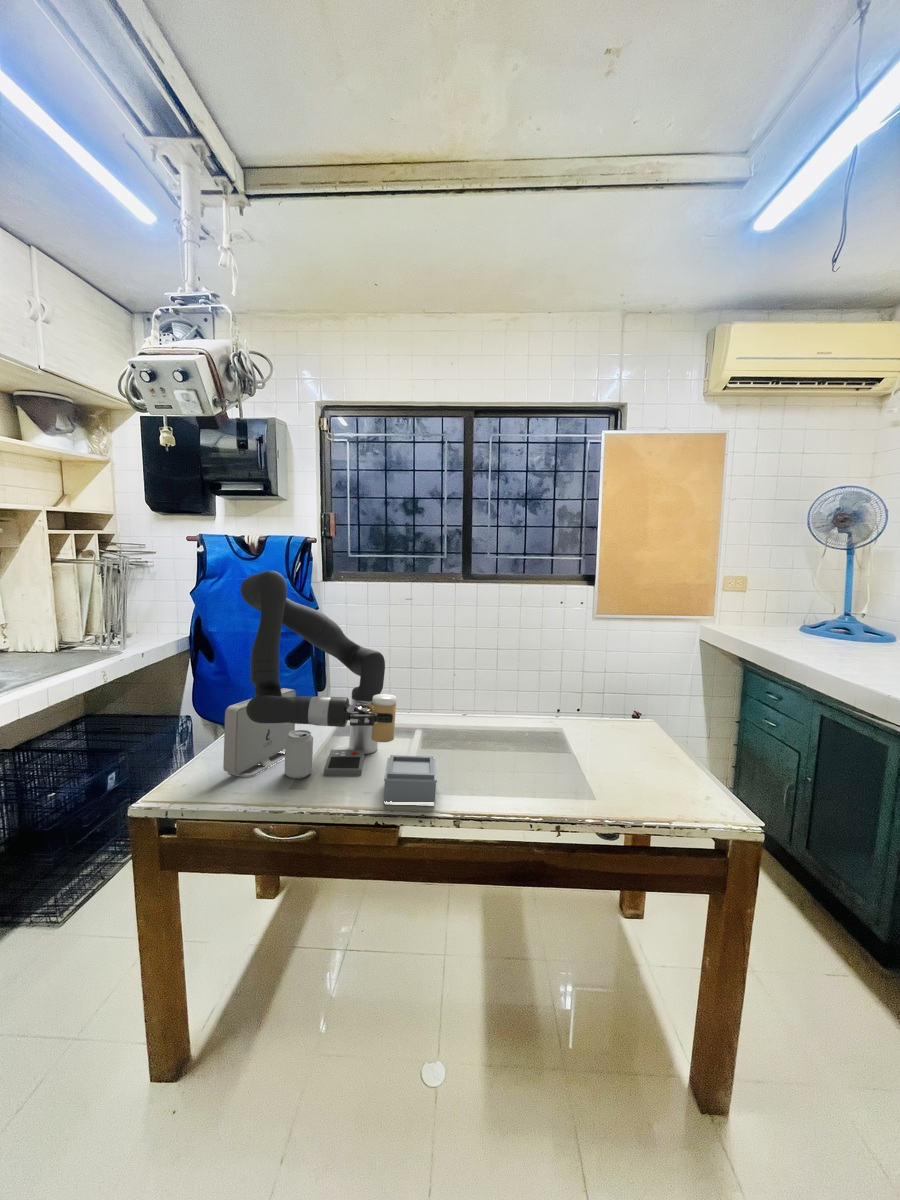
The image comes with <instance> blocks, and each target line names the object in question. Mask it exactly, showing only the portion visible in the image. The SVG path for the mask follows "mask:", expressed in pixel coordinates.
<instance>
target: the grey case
mask: <svg viewBox="0 0 900 1200" xmlns="http://www.w3.org/2000/svg"><path fill="white" fill-rule="evenodd" d="M386 760H387V761H386V766H385V772H384V778H383V781H384V789H383V793H384V794H383V802H384V801H385V802H386V801H387V802H390V801H392V802H434V801H435V802H436V791H437V790H436V789H437V783H438V776H437V764H436V763H437V762H436V758H434V756H430V755H428V756H427V755H425V756H424V755H399V754H398V755H397V754H396V755H395V754H390V755H389V757H387V759H386Z"/></svg>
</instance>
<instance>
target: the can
mask: <svg viewBox="0 0 900 1200" xmlns="http://www.w3.org/2000/svg"><path fill="white" fill-rule="evenodd" d="M288 735H289V736H288V737H287V738H286V745H285V749H284V751H285V755H284V756H285V760H284V769H283V770H284V772H283V773H284V774H285V775H286V776H287V777H288V776H289V777H288V778H290V777H291V778H290V779H295V778H297V779H302V778H306V777H308V776H309V775H310V774H311V772H312V770H313V753H314V752H313V751H314V749H313V748H314V747H313V746H314V736H312V732H311V731H310V730H306V729H295V731H292V732H290V733H289V734H288Z"/></svg>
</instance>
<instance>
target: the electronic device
mask: <svg viewBox="0 0 900 1200" xmlns="http://www.w3.org/2000/svg"><path fill="white" fill-rule="evenodd" d="M364 759H365V754H364V750H349V749H330V751H329V755H328V757H327V761H326V763H325V767H324V769H323V775H324V776H362V772H363V766H364Z"/></svg>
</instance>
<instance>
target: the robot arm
mask: <svg viewBox="0 0 900 1200" xmlns="http://www.w3.org/2000/svg"><path fill="white" fill-rule="evenodd" d="M240 594H241V597H242V599H243V600H244V602H245V603H246V604H247V605H249V606H250V607H252V608H253V609H255V610H257V611H259V612H260V618H259V619H260V620H259V625H258V627H257V628H258V629H257V632H256V636H255V638H254V641H253V645H252V648H251V653H250V682H251V683H252V684H253V685H254V691H255V692H254V693H255V696H253V697H251V698H250V699H251V700H250V701H249V703H248V704H247V707H246V713H247V715H248V717H249V718H250V719H251V720H252V721H254V722H256V723H295V725H296V724H297V725H311V726H312V725H313V726H316V727H317V726H318V727H319V726H320V727H321V726H322V727H337V728H338V727H339V728H344V727H346V726H347V724H348V721H349V742H348V743H349V744H348V750H364V755H368V754H372V753H375V752H377V750H378V747H379V746H378V745H379V744H378V743H379V742H376V741H373V740H372V739H371V730H372V726H373V725H374V724H375V723H377V722H383V723H392V721H393V714H390V713H375V712H373V696H374V695H377V694H382V691H383V689H384V681H385V672H386V661H385V660H386V659H385V657H384V655H383V654H382V652H380V651H377V650H374V649H370V648H367V647H363V646H361V645H360V644H358V643H356V642H354V641H353V640H351V639H349V638H348V637H347V636H346V634H345V633H344V631H343V630H342V628H341V627H340V626H339V625H338V624H337V622H335V621H334V620H332V619H331V618H330V617H329V616H327V615H326V614H324V613H322V612H321V611H319V610H317V609H315V608H312V607H310V606H307V605H304V604H301V603H298V602H295V601H293V600H291V599H289V598H288V597H287V595H288V584H287V581H286V579H285V577H284V575H282V574H281V573H279V572H278V571H275V570H266V571H262V572H259V573H256V574H253V575H250V576H248V577H246V578H245V579H244V580H243V581H242V582H241V585H240ZM282 625H284V626H285V627H287V628H288V629H290V630H291V631H292V632H294V633H295V634H297V635H298V636H300V637H301V638H302V639H304V640H305V641H307V642H308V643H309V644H311V645H313V646H314V647H316V648H318V649H319V650H321V651H322V652H324V653H326V654H328V655H330V656H331V657H333V658H335V659H337V660H338V661H340V663H342V664H343V666H345V667H346V668H347V669H348V670H349V671H351V672H352V673H353V674H355V675H356V676H358V677H360V678H359V685H358V686H355V687H353V688H352V691H351V704H350V700H349V698H348V697H346V696H345V697H343V696H328V695H327V696H325V695H321V696H320V695H319V696H306V695H305V696H302V695H301V696H300V695H298V696H297V695H296V696H295V697H282V694H281V689H282V688H281V684H280V644H281V634H282V629H283V628H282V627H283V626H282Z"/></svg>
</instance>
